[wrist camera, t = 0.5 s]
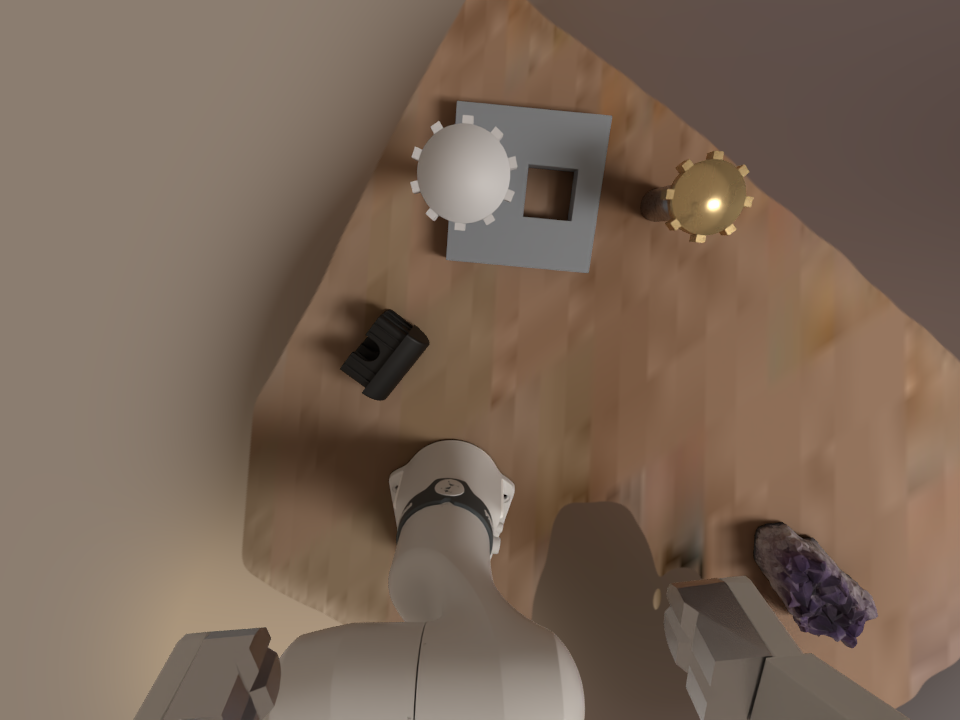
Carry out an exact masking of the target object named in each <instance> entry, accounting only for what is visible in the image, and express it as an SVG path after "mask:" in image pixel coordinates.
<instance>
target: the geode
mask: <svg viewBox="0 0 960 720" xmlns="http://www.w3.org/2000/svg"><path fill="white" fill-rule="evenodd" d="M753 553H754V559H755V561H756V563H757V564H758V565H759V567H760V569H761V571H762V572H763V573H764V575H765V576H766V577H767V578H768V580H769V581H770V585H771V586H772V588H773V589H774V590H775V591H776V592H777V594H778V596H779V597H780V598H781V599H782V600H783V602H784V603H785V606H786V607H787V609H788V611H789V612H790V613H791V614H792V615H793V619H794V621H795V622H796V623H797V624H798V626H799V628H800V630H801V631H802V632H809V633H811V634H814V635H817V636H818V637H819V636H820V635H826V636H829V637H832V638H834V640H835V641H837V642H838V641H840V640H841V641H842V642H843V643H844V644H845V645H846V646H847V647H850V648H854V647H855V646H856V644H857V639H856V637H858V636H859V635H860V634H861V633H862V632H863V628H864V624H865V621H867V620H871V619H875V618H876V617H877V616H878V614H877V609H876V606H875V603H874V601H873V598H872V596H871V595H870V594H869V593H868V592H867V591H866V590H864V589H862V588H861V587H860V586H859V585H858V583H857V582H856V581H854V580H853V579H852V578H851V577H850V576H849V575H847V574H846V573H844V572H843V571H841V570H840V569H839V568H838V566H837V565H836V564H835V562H834V561H833V560H832V559H831V558H830V557H829V556H828V555H827V553H826V552H825V551H824V550H823V549H822V548H821V547H820V545H819V544H818V542H817V541H816V540H815V539H814V538H805V539H803V538H801V537H800V536H798V535H797V534H796V533H795V532H794V531H793V530H792V529H791V528H790V527H789V526H787V525H786V524H784V523H783V522H780V523H773V524H765V525H763V526H760V527H758V529H757V530H756V533H755V539H754V552H753Z"/></svg>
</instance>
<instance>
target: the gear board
mask: <svg viewBox="0 0 960 720" xmlns="http://www.w3.org/2000/svg"><path fill="white" fill-rule="evenodd" d="M611 121H612V116H608V115H598V114H588V113H577V112H567V111H557V110H546V109H536V108H526V107H515V106H505V105H495V104H484V103H474V102H464V101H457V109H456V123H455V124H454V125H450V126H447V127H445V128H443V126H442V125H441V123H440V121H438V122H437V123H435V124H434V125H432V126H431V129H432V131H433V133H434V135H433V136H432V137H431V138H430V139H429V140H428V142H427V143H426V144H425V146H424V148H423V150H422V149H420V148H417V147H415V149H414V151H413V154H412V158H413V159H414V160H417V161H418V167H417V179H418V181H413V182H410V183H411V187H412V191H413V193H415V194H417V193H421V194H422V196H423V198H424V200H425V202H426V203H427V204H428V206H429V207H430V209H429V210H428V211H427V212H426V214H427V215H428V216H429V217H430V218H431V219H432V220H433V221H435V220H436V219H437V218H438V216H441V217H442V218H444V219H447V220H449V226H448V240H447V255H446V260H452V261H463V262H474V263H485V264H496V265H507V266H518V267H528V268H539V269H550V270H561V271H572V272H583V273H589V266H590V260H591V253H592V247H593V240H594V233H595V227H596V220H597V213H598V207H599V200H600V194H601V187H602V180H603V174H604V167H605V161H606V154H607V147H608V141H609V134H610V127H611ZM528 168H538V169H548V170H559V171H569V172H574V177H573V185H572V192H571V199H570V207H569V214H568V221H562V220H552V219H541V218H530V217H523V212H524V202H525V193H526V184H527V175H528Z"/></svg>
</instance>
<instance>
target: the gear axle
mask: <svg viewBox="0 0 960 720" xmlns="http://www.w3.org/2000/svg"><path fill="white" fill-rule="evenodd" d="M723 154H724V152H721V151H713V152H710V153H707V157H706V160H705V161H701V162H698V163H695V164H693V163H692V162H691V160H690V159H688V160H685V161H683V162H682V163H680V164H679V165H678V166H677V167H676V169H677V171H678V172H679V173H680V174H679V175H678V176H677V177H676V178H675V180H674V181H673V183H672V185H670V186H665V187H661V188H657V189H653V190H651V191H649V192H648V193H647V194H646V195H645V196H644V197H643V199H642V202H641V212H642V214H643V216H644V217H645V218H646V219H647V220H649V221H653V222H660V221H667V222H666V223H665V224H666V226H667V227H668V229H669V230H677V229H678V228H679V229H680V230H682V231H684V232H686V233H688V234H693V235H690V240H689V242H701V243H705V238H706V235H712V234H716V233H718V232H719V233H720V234H721V235H730V234H731V233H732V232H733V231H735V230H736V228H735V227H734V225H733V224H732V223H733V222H734V221H735V220H736V219H737V217H738V216H739V215H740V213H741V211H742V209H743V207H751V204H752V200H753V197H746V186H745V182H744V179H743V177H744V176H745V175H746V174H748V173H749V170H748V169H747V168H746V166H745V165H741V166H736V167H735V166H733V165H732V164H731V163H729V162H727V161H724V160H722V159H723Z"/></svg>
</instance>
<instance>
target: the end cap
mask: <svg viewBox="0 0 960 720" xmlns="http://www.w3.org/2000/svg"><path fill="white" fill-rule="evenodd" d="M366 335H367V336H368V337H367V338H366V339H365V341H364V342H363V343H362V344H361V345H360V346H359V348H358V349H357V350H356V352H354V351H353V352H352V353H351V355H350V356H349V357H348V359H347V360H346V361H345V363H344V364H343V365H342V367H341V368H340V369H341V370H342V371H343V372H345V373H346V374H347V375H349V376H350V377H351V378H353V379H354V380H356V381H357V382H358V383H360V384H361V385H362V386H364V387H365V389H364V390H363V392H362V393H363V394H364V395H366V396H367V397H369V398H372V399H374V400H379V401H381V400H385V399H386V398H387V397H388V396H389V394H390V393H391V392H392V391H393V389H394V388H395V387H396V386H397V384H398V383H399V382H400V381H401V379H402V378H403V377H404V376H405V374H406V373H407V372H408V371H409V369H410V368H411V367H412V366H413V364H414V363H415V362H416V361H417V360H418V358H419V357H420V356H421V355H422V353H423V352H424V351H425V350H426V348H427V347H428V346H429V340H428V338H427V336H426V335H425V334H424V333H423V332H422V331H421V330H420V329H419V328H418V327H417V326H415V325H414V326H412V325H411V324H410V323H408V322H407V321H406V320H405V319H403V318H402V317H401V316H399V315H398V314H397V313H395V312H394V311H393V310H386V311H385V312H384V314H382V315H381V316H380V317H379V318H378V319H377V320H376V322H375V323H374V324H373V326H372V327H371V328H370V330H369V331H368V332H367V334H366Z"/></svg>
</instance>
